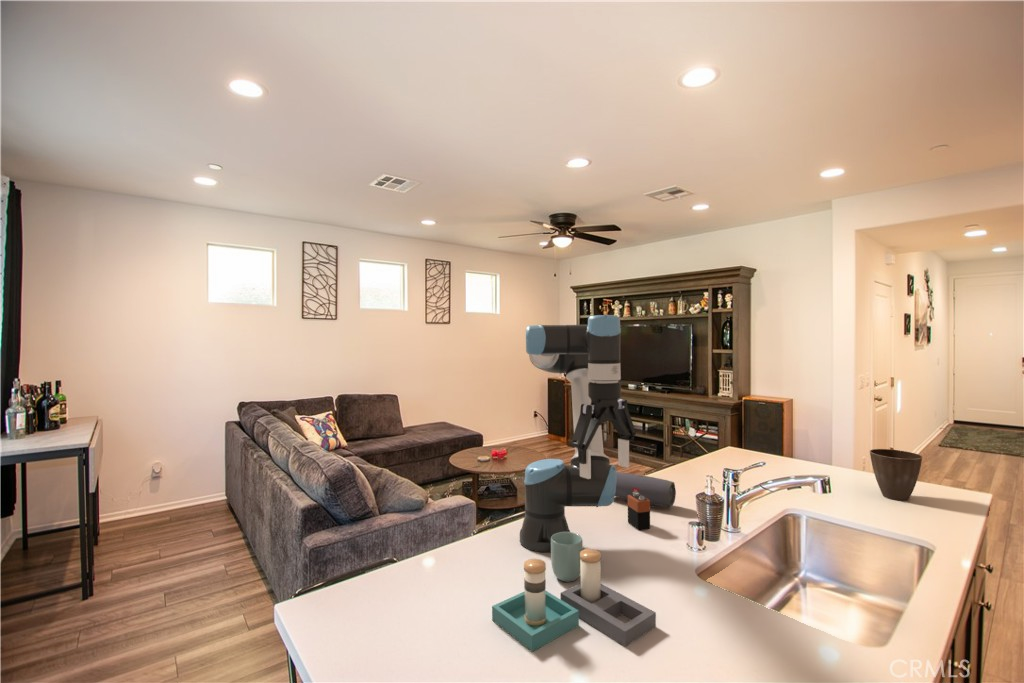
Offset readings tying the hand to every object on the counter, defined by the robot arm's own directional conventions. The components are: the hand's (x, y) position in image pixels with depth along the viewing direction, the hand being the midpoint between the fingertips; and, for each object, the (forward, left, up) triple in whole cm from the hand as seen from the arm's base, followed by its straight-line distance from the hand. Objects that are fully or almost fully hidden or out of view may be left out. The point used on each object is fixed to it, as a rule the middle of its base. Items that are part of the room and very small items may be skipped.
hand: (605, 471), depth 112 cm
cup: (-11, -2, -29) cm, 31 cm away
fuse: (+1, -7, -29) cm, 30 cm away
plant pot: (+25, +130, -29) cm, 135 cm away
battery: (-19, +38, -29) cm, 51 cm away
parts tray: (-2, -21, -29) cm, 35 cm away
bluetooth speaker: (-31, +55, -29) cm, 69 cm away
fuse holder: (+6, -7, -29) cm, 30 cm away
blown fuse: (-2, -21, -28) cm, 35 cm away
